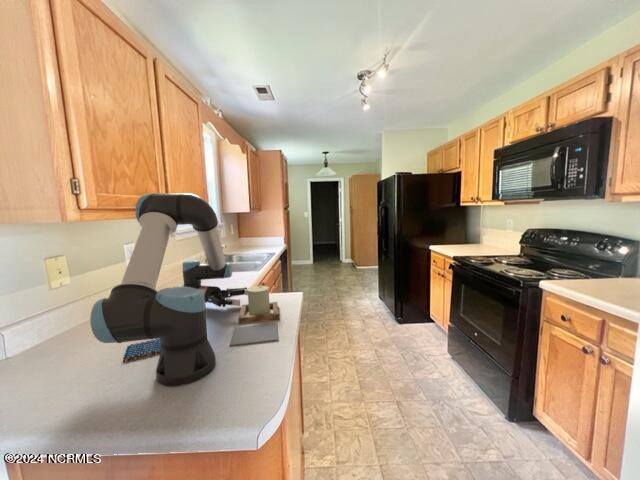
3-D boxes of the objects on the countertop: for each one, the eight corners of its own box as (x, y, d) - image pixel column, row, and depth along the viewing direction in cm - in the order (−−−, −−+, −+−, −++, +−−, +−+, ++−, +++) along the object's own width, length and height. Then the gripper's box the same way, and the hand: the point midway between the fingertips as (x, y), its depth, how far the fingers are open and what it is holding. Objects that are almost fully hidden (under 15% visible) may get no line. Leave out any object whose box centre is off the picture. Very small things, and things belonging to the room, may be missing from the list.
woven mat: (163, 355, 86) (163, 349, 85) (122, 364, 81) (122, 358, 80) (164, 341, 95) (163, 336, 95) (127, 350, 90) (127, 344, 89)
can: (272, 310, 121) (271, 284, 120) (266, 318, 112) (265, 290, 111) (253, 310, 122) (251, 284, 121) (245, 318, 113) (243, 290, 111)
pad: (229, 346, 89) (229, 344, 89) (234, 328, 102) (234, 327, 102) (278, 340, 92) (278, 339, 92) (276, 324, 105) (276, 323, 105)
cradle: (238, 323, 107) (238, 318, 107) (242, 309, 123) (242, 304, 123) (278, 319, 110) (278, 314, 110) (277, 306, 126) (277, 301, 126)
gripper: (227, 294, 137) (263, 297, 131) (189, 311, 114) (231, 316, 107) (226, 279, 137) (262, 282, 130) (188, 294, 113) (230, 298, 106)
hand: (248, 297), depth 118 cm, fingers open, 13 cm apart
